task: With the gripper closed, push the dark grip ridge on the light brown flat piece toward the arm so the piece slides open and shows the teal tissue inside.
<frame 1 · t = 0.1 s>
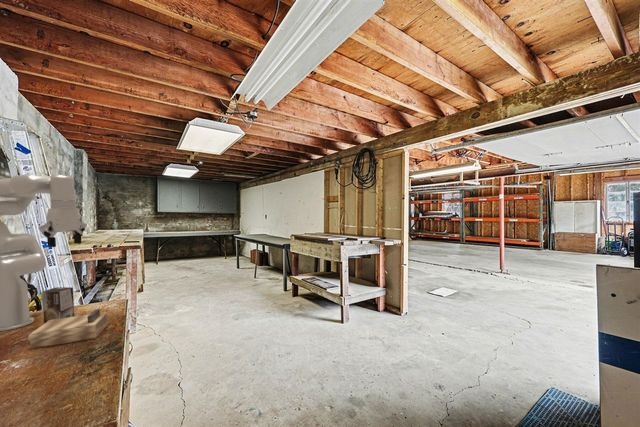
hand: (65, 245, 116), 37 cm above the table, tool pointing down, fingers open, 9 cm apart
coffee box: (59, 324, 125), on the table
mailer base: (72, 335, 113), on the table
light brown flat piece: (71, 321, 113), point 6 cm above the table, slide at 0.0 cm
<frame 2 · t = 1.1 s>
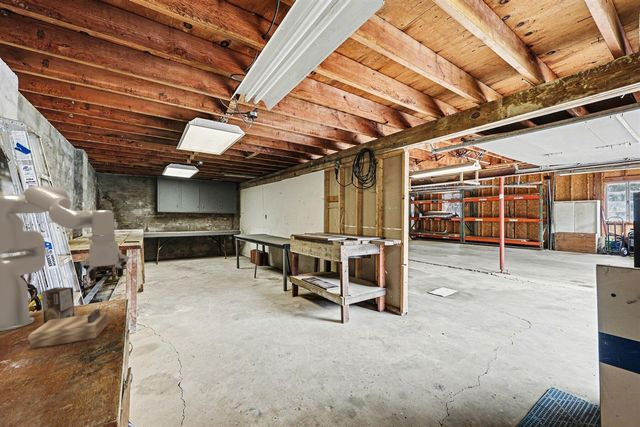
hand: (106, 278, 117), 22 cm above the table, tool pointing down, fingers open, 9 cm apart
nothing on the table moved.
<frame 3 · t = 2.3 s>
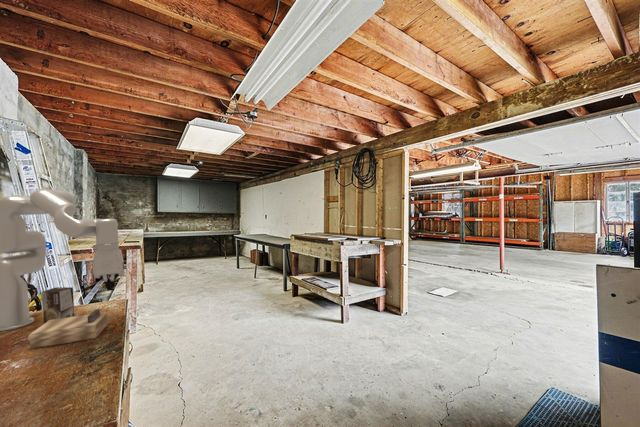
hand: (110, 289, 118), 17 cm above the table, tool pointing down, fingers closed
nothing on the table moved.
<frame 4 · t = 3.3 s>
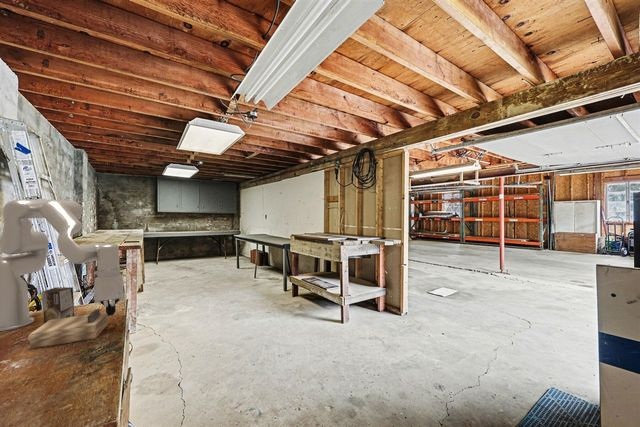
hand: (111, 314, 118), 6 cm above the table, tool pointing down, fingers closed
nothing on the table moved.
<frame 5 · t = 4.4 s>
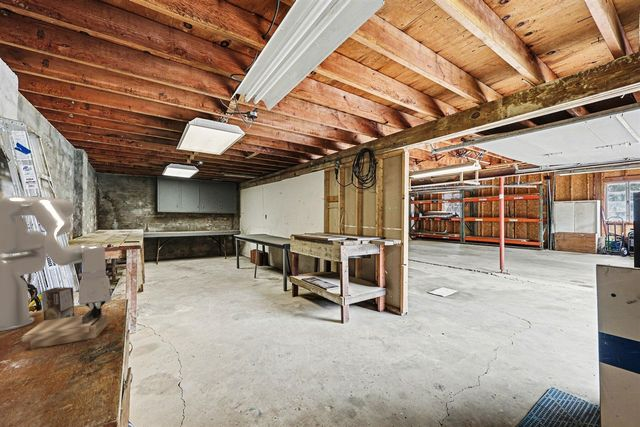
hand: (96, 317, 116), 6 cm above the table, tool pointing down, fingers closed
light brown flat piece: (66, 322, 113), point 6 cm above the table, slide at 1.8 cm, touching gripper
everything else where it was.
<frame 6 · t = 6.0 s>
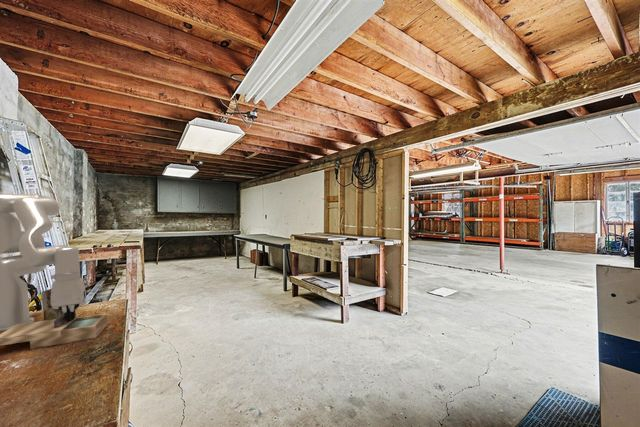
hand: (70, 320, 113), 6 cm above the table, tool pointing down, fingers closed
light brown flat piece: (38, 326, 109), point 6 cm above the table, slide at 10.7 cm, touching gripper
everything else where it was.
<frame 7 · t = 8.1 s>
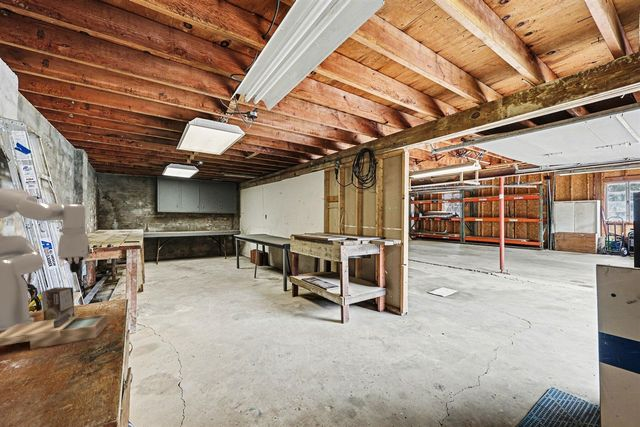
hand: (75, 271, 124), 24 cm above the table, tool pointing down, fingers closed
light brown flat piece: (37, 326, 109), point 6 cm above the table, slide at 10.8 cm
everything else where it was.
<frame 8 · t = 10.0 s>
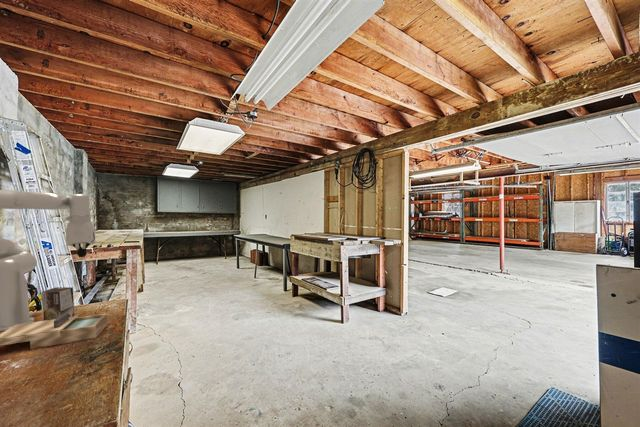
hand: (82, 256, 133), 29 cm above the table, tool pointing down, fingers closed
nothing on the table moved.
at the end: light brown flat piece slide at 10.8 cm; coffee box moved 0.2 cm from its start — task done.
